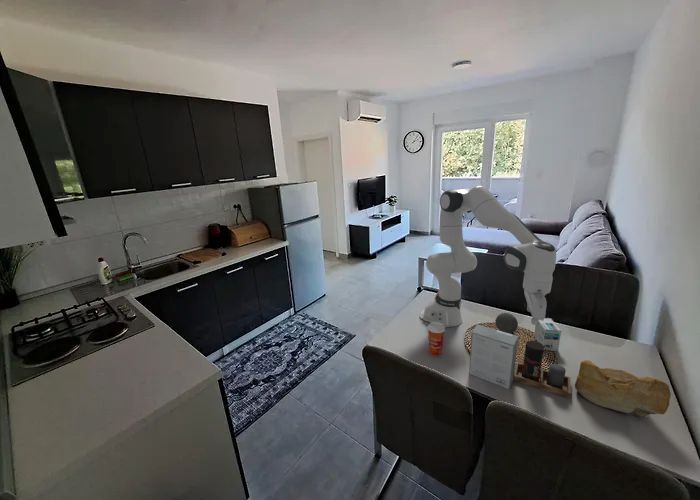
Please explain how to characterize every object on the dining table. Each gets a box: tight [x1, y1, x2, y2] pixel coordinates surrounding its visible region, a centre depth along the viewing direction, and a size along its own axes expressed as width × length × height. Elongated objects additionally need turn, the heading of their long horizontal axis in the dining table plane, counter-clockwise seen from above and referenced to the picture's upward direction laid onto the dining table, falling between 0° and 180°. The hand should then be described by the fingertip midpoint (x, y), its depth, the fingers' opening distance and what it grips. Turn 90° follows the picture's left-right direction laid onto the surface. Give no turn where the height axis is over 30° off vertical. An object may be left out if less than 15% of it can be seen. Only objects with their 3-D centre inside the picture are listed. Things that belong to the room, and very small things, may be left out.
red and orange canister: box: [426, 322, 446, 357], centre depth 134 cm, size 8×8×14 cm
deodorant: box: [522, 340, 545, 382], centre depth 115 cm, size 6×6×15 cm
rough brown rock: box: [574, 359, 672, 418], centre depth 103 cm, size 23×17×15 cm
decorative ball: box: [494, 312, 519, 334], centre depth 147 cm, size 10×10×10 cm
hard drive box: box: [468, 324, 519, 390], centre depth 117 cm, size 16×8×20 cm, turn 50°
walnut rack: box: [513, 361, 572, 399], centre depth 114 cm, size 18×9×3 cm, turn 56°
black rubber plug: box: [547, 363, 566, 389], centre depth 111 cm, size 5×5×8 cm
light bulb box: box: [533, 317, 562, 352], centre depth 136 cm, size 11×7×11 cm, turn 168°
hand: (531, 317), depth 113 cm, fingers open, 8 cm apart
